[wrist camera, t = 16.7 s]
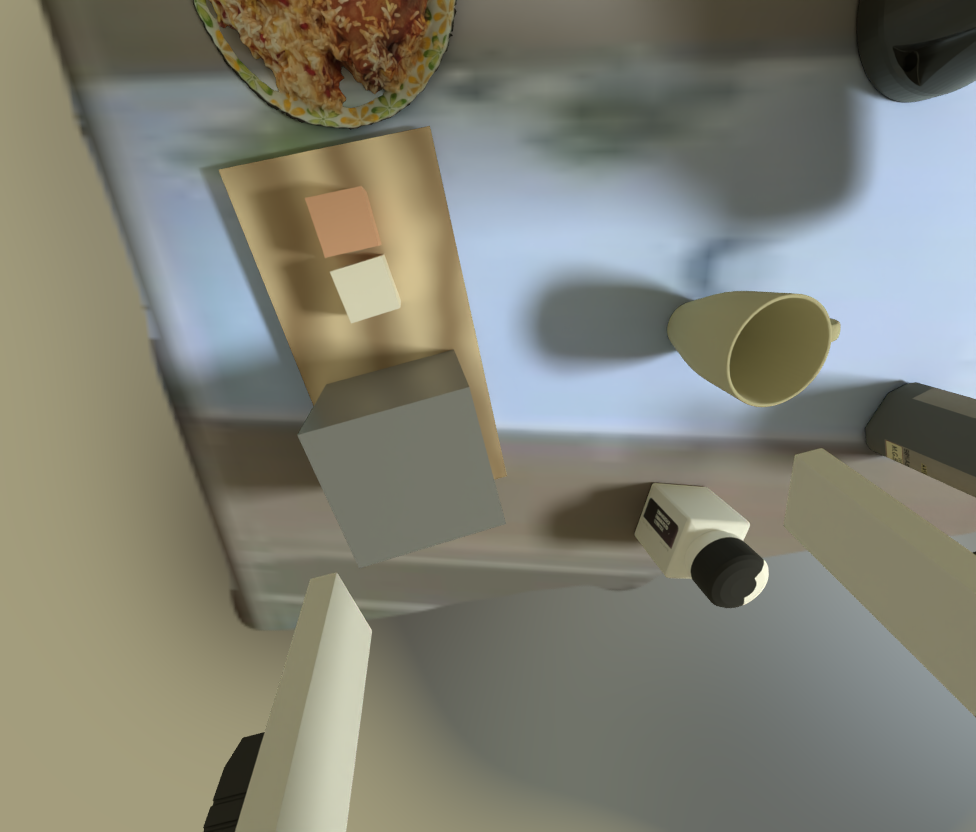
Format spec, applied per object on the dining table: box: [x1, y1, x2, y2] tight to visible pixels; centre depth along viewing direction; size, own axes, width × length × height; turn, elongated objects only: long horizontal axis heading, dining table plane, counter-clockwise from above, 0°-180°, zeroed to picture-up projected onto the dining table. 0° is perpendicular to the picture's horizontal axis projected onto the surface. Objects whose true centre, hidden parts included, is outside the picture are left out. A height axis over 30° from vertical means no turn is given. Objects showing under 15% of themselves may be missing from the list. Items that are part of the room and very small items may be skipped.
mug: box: [667, 291, 840, 407], centre depth 39 cm, size 11×10×12 cm
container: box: [634, 483, 768, 608], centre depth 48 cm, size 8×8×13 cm
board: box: [219, 126, 507, 479], centre depth 40 cm, size 16×32×2 cm, turn 12°
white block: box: [330, 254, 401, 323], centre depth 35 cm, size 4×4×4 cm
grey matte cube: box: [297, 350, 506, 568], centre depth 37 cm, size 12×12×11 cm
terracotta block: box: [305, 186, 382, 258], centre depth 33 cm, size 4×4×4 cm
